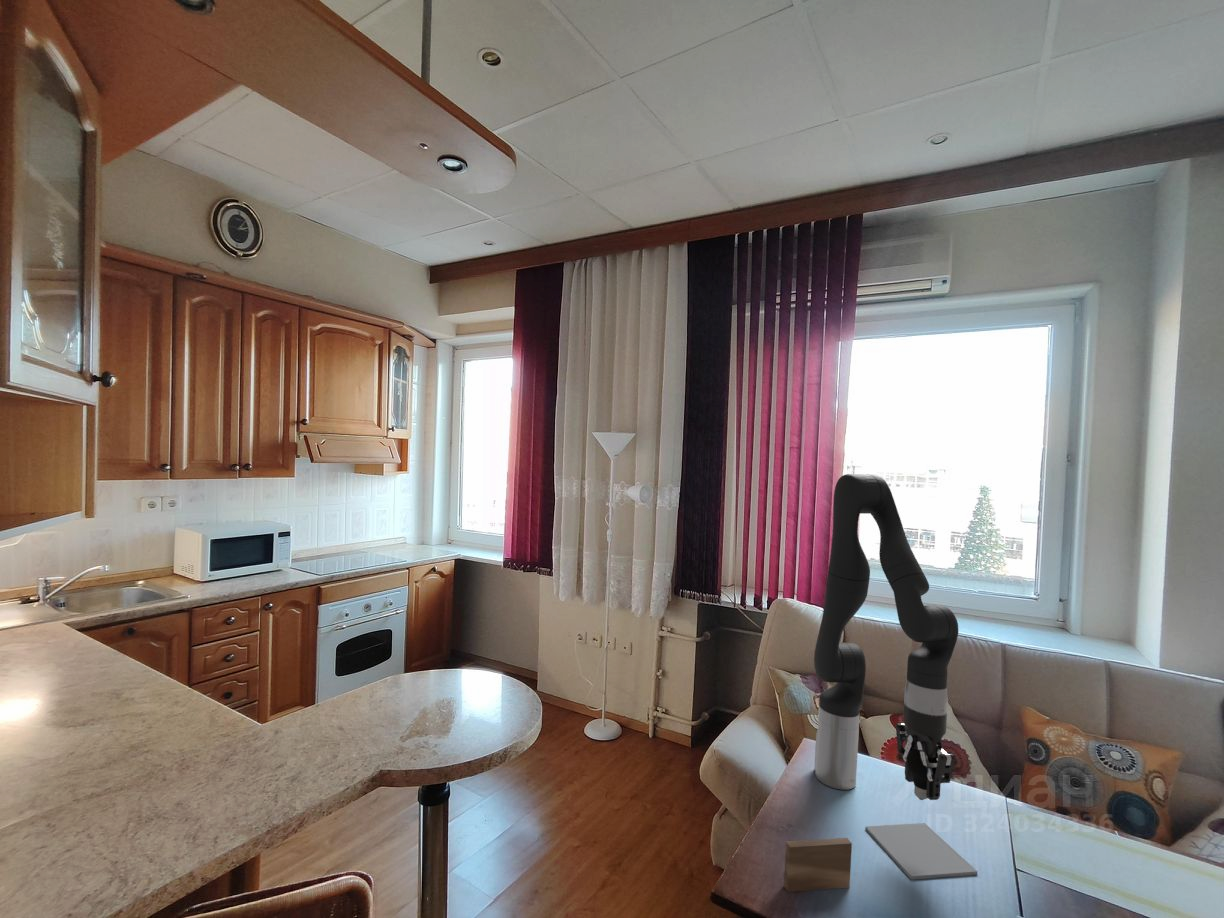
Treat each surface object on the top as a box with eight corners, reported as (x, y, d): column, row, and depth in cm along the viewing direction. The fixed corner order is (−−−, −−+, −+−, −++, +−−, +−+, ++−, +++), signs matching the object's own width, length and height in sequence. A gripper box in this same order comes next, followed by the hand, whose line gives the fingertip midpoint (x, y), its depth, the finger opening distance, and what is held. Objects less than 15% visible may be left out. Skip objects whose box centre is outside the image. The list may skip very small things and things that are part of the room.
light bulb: (933, 794, 113) (935, 745, 113) (941, 811, 107) (944, 759, 107) (901, 788, 114) (903, 739, 115) (908, 804, 109) (910, 753, 109)
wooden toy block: (783, 885, 100) (786, 841, 100) (844, 881, 102) (847, 837, 102) (787, 892, 98) (789, 847, 98) (849, 887, 100) (851, 843, 100)
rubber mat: (865, 829, 117) (865, 826, 117) (924, 825, 119) (924, 823, 119) (911, 879, 103) (911, 876, 103) (977, 874, 105) (977, 871, 105)
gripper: (970, 721, 104) (966, 811, 104) (917, 690, 119) (913, 769, 119) (934, 722, 103) (930, 813, 103) (885, 690, 118) (881, 770, 117)
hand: (921, 789), depth 111 cm, fingers closed on light bulb, 5 cm apart
